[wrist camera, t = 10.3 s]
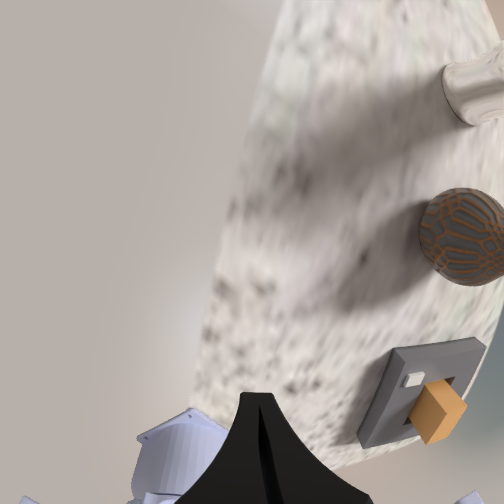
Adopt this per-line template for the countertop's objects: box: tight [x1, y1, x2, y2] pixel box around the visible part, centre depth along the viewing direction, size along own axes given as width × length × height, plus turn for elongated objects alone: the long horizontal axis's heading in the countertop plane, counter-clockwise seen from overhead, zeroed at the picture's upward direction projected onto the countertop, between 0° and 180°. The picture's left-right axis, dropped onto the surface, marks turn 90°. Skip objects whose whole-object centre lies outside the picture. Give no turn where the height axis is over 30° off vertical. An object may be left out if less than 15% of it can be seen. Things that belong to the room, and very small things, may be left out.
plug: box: [408, 379, 467, 445], centre depth 20 cm, size 4×3×6 cm, turn 176°
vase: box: [420, 188, 504, 286], centre depth 15 cm, size 7×7×9 cm
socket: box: [357, 337, 486, 449], centre depth 22 cm, size 12×12×3 cm
